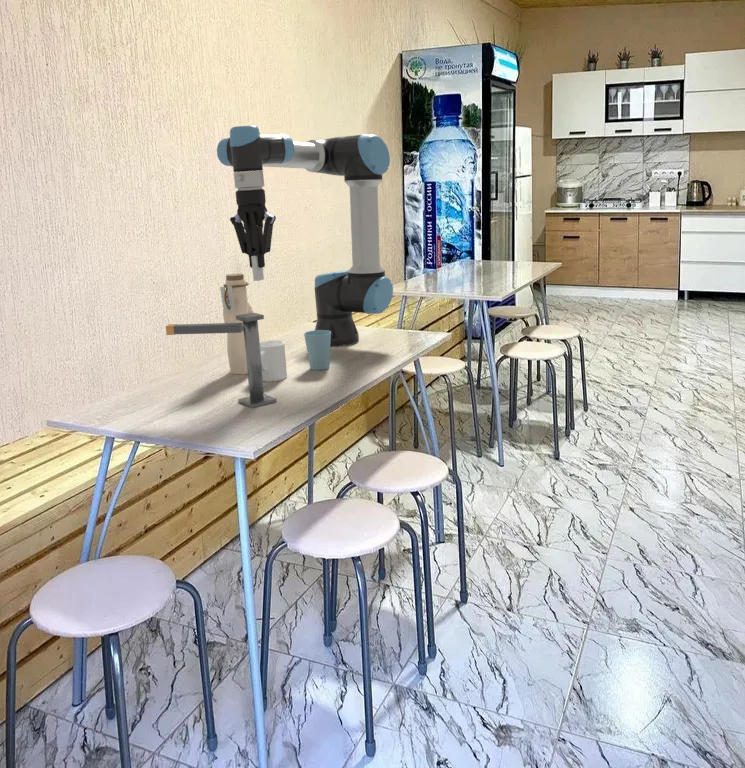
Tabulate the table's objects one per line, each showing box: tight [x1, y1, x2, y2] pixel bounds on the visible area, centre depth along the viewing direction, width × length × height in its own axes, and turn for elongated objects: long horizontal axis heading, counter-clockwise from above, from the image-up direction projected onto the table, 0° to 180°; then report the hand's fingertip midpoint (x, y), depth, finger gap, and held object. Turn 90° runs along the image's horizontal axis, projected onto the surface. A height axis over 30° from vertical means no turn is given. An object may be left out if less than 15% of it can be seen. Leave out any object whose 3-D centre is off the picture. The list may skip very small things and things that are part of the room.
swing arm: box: [165, 322, 243, 336], centre depth 193 cm, size 19×3×2 cm, turn 83°
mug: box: [259, 340, 288, 383], centre depth 216 cm, size 8×12×10 cm
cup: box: [303, 329, 331, 371], centre depth 226 cm, size 8×8×10 cm
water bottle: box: [219, 273, 255, 375], centre depth 224 cm, size 10×9×28 cm
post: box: [236, 312, 277, 409], centre depth 194 cm, size 7×7×22 cm
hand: (258, 279), depth 209 cm, fingers closed
